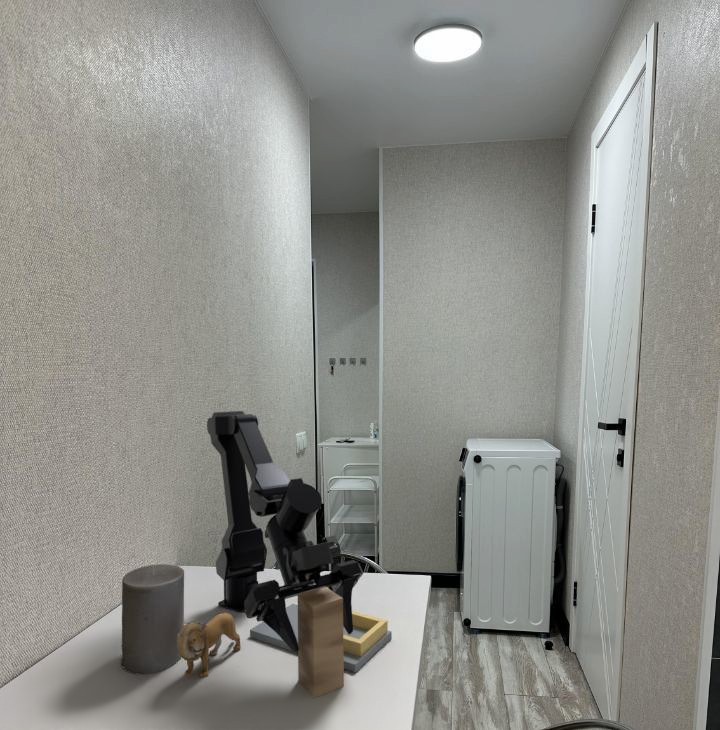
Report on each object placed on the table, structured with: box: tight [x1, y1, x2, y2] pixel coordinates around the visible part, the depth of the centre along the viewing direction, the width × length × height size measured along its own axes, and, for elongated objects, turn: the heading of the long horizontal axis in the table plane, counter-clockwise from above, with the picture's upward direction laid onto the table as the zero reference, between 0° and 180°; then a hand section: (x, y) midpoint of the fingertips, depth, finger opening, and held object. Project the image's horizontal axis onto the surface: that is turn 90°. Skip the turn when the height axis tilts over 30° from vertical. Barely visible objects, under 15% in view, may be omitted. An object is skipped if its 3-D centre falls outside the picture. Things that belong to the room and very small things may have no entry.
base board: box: [249, 603, 393, 673], centre depth 92 cm, size 22×12×3 cm, turn 59°
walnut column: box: [297, 587, 345, 699], centre depth 78 cm, size 5×5×13 cm
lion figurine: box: [177, 612, 242, 678], centre depth 84 cm, size 15×5×9 cm, turn 164°
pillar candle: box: [120, 563, 185, 675], centre depth 86 cm, size 10×10×15 cm
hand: (324, 642), depth 77 cm, fingers open, 9 cm apart
